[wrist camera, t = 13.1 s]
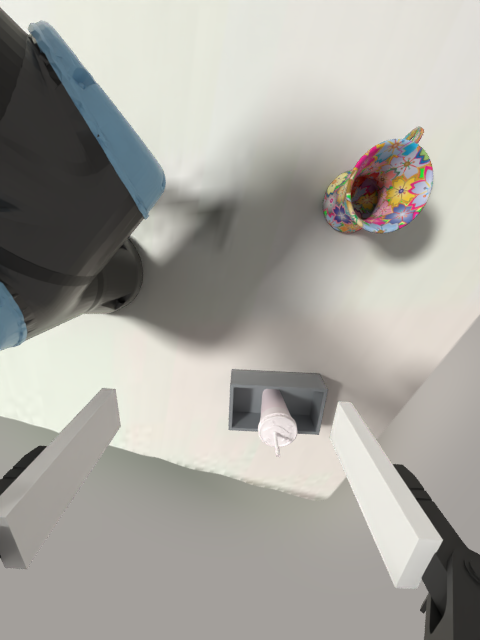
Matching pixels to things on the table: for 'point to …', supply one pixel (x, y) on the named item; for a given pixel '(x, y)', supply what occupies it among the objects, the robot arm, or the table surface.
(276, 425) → the smoothie
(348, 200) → the mug
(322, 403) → the tray
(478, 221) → the table surface
